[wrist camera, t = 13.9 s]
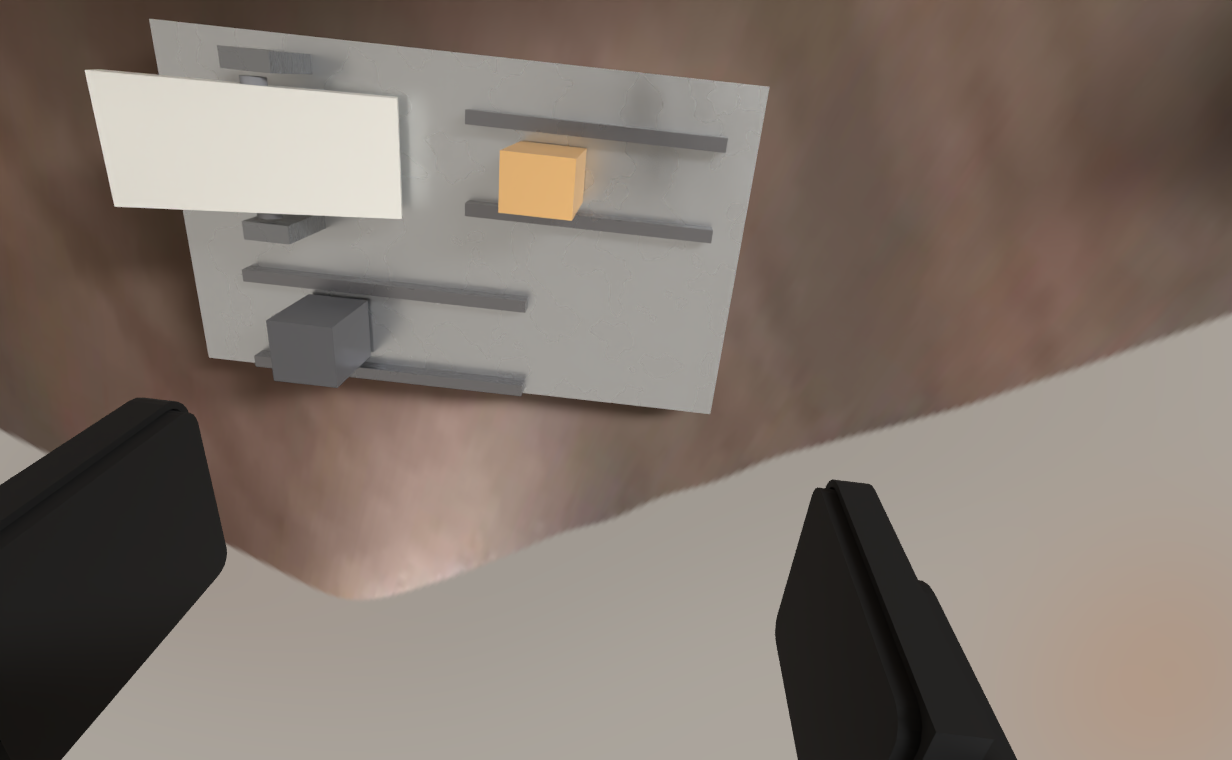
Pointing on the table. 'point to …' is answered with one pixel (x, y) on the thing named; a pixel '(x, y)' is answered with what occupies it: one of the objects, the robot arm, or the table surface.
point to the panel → (498, 223)
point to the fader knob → (319, 340)
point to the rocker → (247, 146)
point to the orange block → (541, 180)
